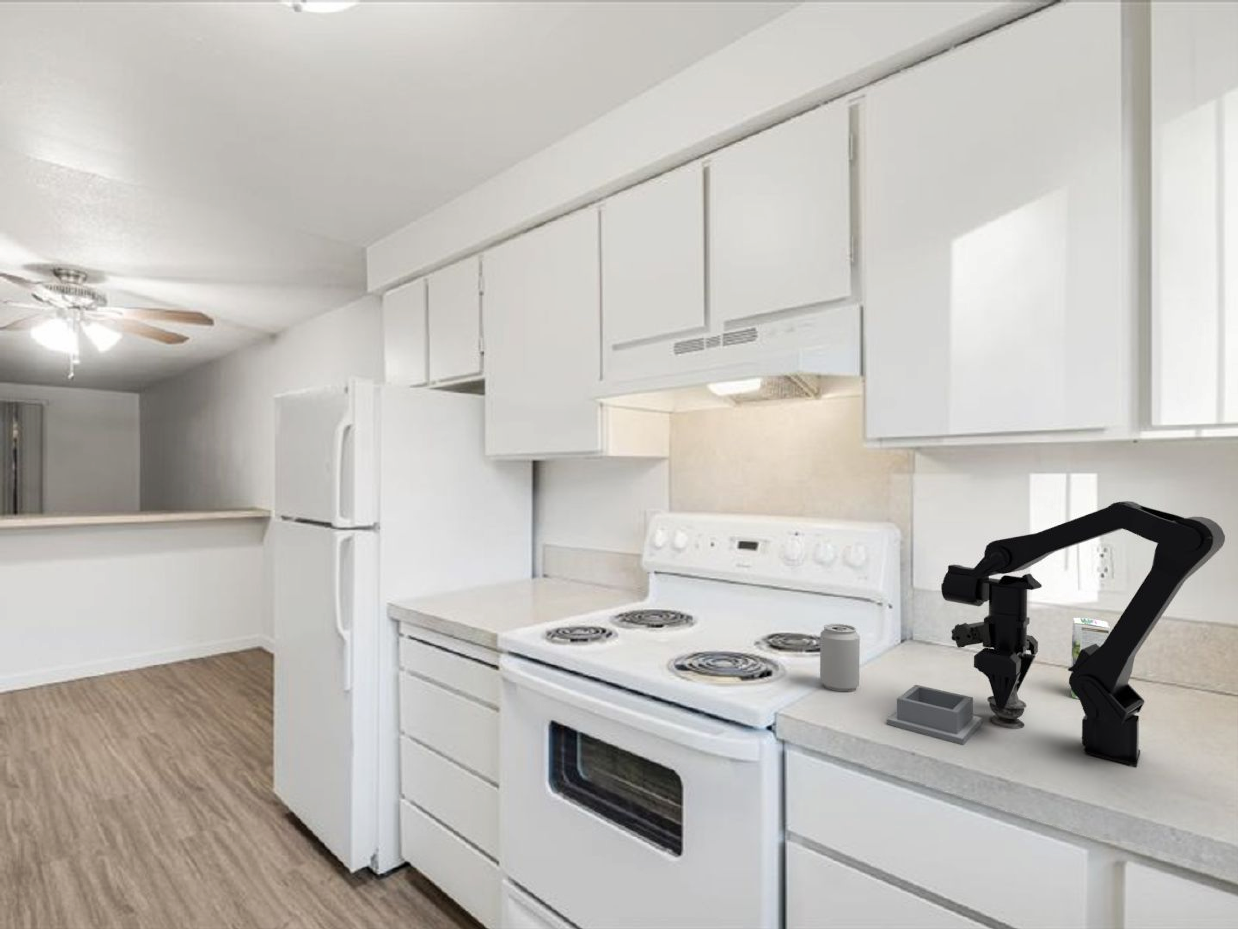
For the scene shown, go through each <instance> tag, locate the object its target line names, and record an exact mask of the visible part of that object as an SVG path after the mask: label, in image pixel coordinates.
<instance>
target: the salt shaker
mask: <svg viewBox="0 0 1238 929" xmlns="http://www.w3.org/2000/svg"><path fill="white" fill-rule="evenodd" d="M1017 683H1019V681H1018V680H1017V682H1016V685H1015V687H1014V689H1013V691H1012V693H1011V696H1010V698H1009V700H1008V702H1007V704H1006V707H1005V708H1004V709H999V708H997V706H996V703H995V699H994V696H993V695H990V696H988V697H987V702H988V703H989V708H990V710H991V712H993V713H994V715H991V716H990V717H989V718H988V721H989V722H990V723H992V724H993V725H996V726H999V727H1002V728H1007V729H1015V730H1016V729H1021V728H1022V729H1023V728H1024V727H1025V723H1024V722H1023V721H1021V720H1020V719H1019V718H1020V717H1022V716H1023V714H1024V712H1025V709H1026V708H1027V704H1026V702H1025V701H1023V700H1022V699H1021V700H1020V699H1019V695H1018V692H1017Z"/></svg>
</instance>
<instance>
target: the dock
mask: <svg viewBox="0 0 1238 929" xmlns="http://www.w3.org/2000/svg"><path fill="white" fill-rule="evenodd" d="M983 720H984V719H983V717H980V716H977V715H974V697H972V696H968V695H964V694H959V693H954V692H950V691H946V690H940V689H937V688H933V687H928V686H924V685H923V686H922V685H920V684H919V685H918V684H915V685H913V686H912V687H910V688H909V689H908V690H907V691H905V692H904V693H903V694H901V695H900V696H898V697H897V698H896V712H894V713H892V715H891V716H889V717H888V718H887V719H886V725H888V726H891V727H896V728H900V729H903V730H907V731H911V732H915V733H918V734H922V735H926V736H930V737H933V738H936V739H940V740H945V741H949V742H952V743H955V744H960V745H964V744H965V743H966V742H967V741H968V740H969V739H970V738H971V736H973V734H974V733H975V732H976V731H977V730H978V729H979V728H980V727H981V726H982V724H983V722H984V721H983Z"/></svg>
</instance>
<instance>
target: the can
mask: <svg viewBox="0 0 1238 929" xmlns="http://www.w3.org/2000/svg"><path fill="white" fill-rule="evenodd" d="M819 635H820V640H819V641H820V642H819V643H820V644H819V647H820V648H819V651H820V652H819V654H820V655H819V657H820V658H819V681H820V682H821V683H822V685H823V686H824V687H825V688H826V689H828V690H830V691H835V692H851V691H854V690H856V688H857V687H859V686H860V658H861V657H860V655H861V654H860V650H861V649H860V648H861V647H860V644H861V642H860V639H861V638H860V635H859V633H858V632H857V628H856V627H855V626H854V625H849V624H844V623H828V624H825V625H823V630H822V631H820V634H819Z"/></svg>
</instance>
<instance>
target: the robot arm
mask: <svg viewBox="0 0 1238 929" xmlns="http://www.w3.org/2000/svg"><path fill="white" fill-rule="evenodd" d="M1120 530H1125V531H1128V532H1130V533H1132V534H1134V535H1137V536H1139V537H1141V538H1143V539H1145V540H1148V541H1150V542H1153V543H1156V547H1155V550H1154V552H1153V553H1154V554H1153V560H1152V565H1151V568H1150V571H1149V572H1148V574H1147V575H1146V577H1145V578H1144V580H1143V582H1142V583H1141V584H1140V586H1139V588H1138V589H1137V591H1136V592H1135V593H1134V596H1133V597H1132V598H1131V599H1130V602H1129V603H1128V604H1127V606H1126V608H1125V609H1124V610H1123V613H1122V614H1121V616H1120V617H1119V619H1118V620H1117V621H1116V623H1115V624H1114V626H1113V628H1112V629H1111V630H1110V634H1109V636H1108V637H1107V639H1106V640H1105V642H1104V643H1103V644H1102V645H1101V646H1100V647H1099V646H1098V645H1097V644H1093V645H1091V646H1089V647H1086V648H1084V649H1082V650H1081V651H1080V653H1079V655H1078V658H1077V660H1076V663H1075V664H1074V665H1073V666H1072V667H1069V668H1068V669H1067V671H1068V672H1070V675H1069V678H1068V684H1069V686H1070V690H1071V689H1072V691H1073V692H1074V694H1075V695H1076V696H1077V697H1078V698H1079V699H1078V700H1079V701H1080V703H1081V708H1082V710H1083V713H1084V716H1083V717H1082V720H1081V745H1082V746H1083V747H1084V750H1083V753H1084V754H1086V755H1089V756H1094V757H1097V758H1100V759H1101V758H1102V759H1105V760H1110V761H1113V762H1118V763H1122V764H1126V765H1130V766H1134V767H1137V766H1138V763H1139V760H1140V756H1141V749H1140V747H1139V743H1140V740H1139V736H1140V735H1139V734H1140V732H1139V731H1140V730H1139V729H1140V715H1137V714H1138V713H1140V711H1141V710H1142V708H1143V706H1144V704H1145V699H1144V698H1142V696H1141V695H1139V693H1138V692H1137V691H1136V690H1135V689H1134V688H1133V686H1131V685H1130V683H1129V680H1130V678H1131V675H1132V672H1133V669H1134V668H1133V667H1134V662H1135V657H1136V655H1137V653H1138V652H1139V651H1140V649H1141V647H1142V646H1143V645H1144V643H1145V641H1146V640H1147V638H1148V637H1149V636H1150V634H1151V633H1152V631H1153V630H1154V628H1155V626H1156V625H1157V623H1158V622H1159V620H1161V618H1162V616H1163V614H1164V613H1165V611H1166V610H1167V609H1168V608H1169V605H1170V604H1171V603H1172V601H1173V599H1175V597H1176V595H1177V593H1178V592H1179V591H1180V590H1181V588H1182V586H1183V585H1184V583H1185V582H1186V581H1187V580H1188V579H1189V578H1190V577H1191V576H1193V575H1194V574H1195V573H1196V572H1197V571H1198V570H1199V569H1200V568H1202V567H1203V566H1204V565H1205V564H1206V563H1207V562H1208V561H1210V559H1212V558H1213V557H1214V555H1216V554H1217V553H1218V551H1220V550H1221V549H1222V548H1223V546H1224V544H1225V542H1226V535H1225V532H1224V531H1223V528H1222V527H1221V526H1220V525H1219V524H1218V523H1217V522H1215V521H1214V520H1212V519H1211V518H1207V517H1204V516H1190V517H1184V516H1181V515H1178V514H1175V513H1170V512H1167V511H1162V510H1159V509H1155V508H1152V507H1147V506H1143V505H1141V504H1139V503H1137V502H1134V501H1130V500H1129V501H1128V500H1124V501H1118V502H1117V501H1116V502H1113V503H1111V504H1109V505H1108V506H1107V507H1104V508H1101V509H1099V510H1095V511H1093V512H1090V513H1088V514H1085V515H1083V516H1080V517H1078V518H1075V519H1071V520H1068V521H1066V522H1063V523H1061V524H1058V525H1055V526H1051V527H1048V528H1046V529H1044V530H1041V531H1039V532H1036V533H1029V534H1025V535H1019V536H1014V537H1013V536H1012V537H1008V538H1003V539H995V540H993V541H991V542H989V543H988V544H987V545H986V546H985V550H984V552H983V554H984V555H983V557H982V558H981V560H980V561H979V562H978V563H977V564H976V565H975V567H968V566H967V567H966V566H963V565H961V564H954V563H953V564H949V565H948V566H947V572H946V574H945V575H944V577H943V580H942V583H941V588H940V591H941V596H942V598H943V599H944V600H945V601H947V602H952V603H957V604H962V605H969V606H974V607H981V606H983V605H984V603H987V602H988V615H987V616H985V617H984V618H983V621H980V622H979V621H978V622H973V623H966V622H964V623H961V624H960V623H958V624H957V623H956V625H954V628H953V629H951V631H950V632H951V637H950V638H951V641H955V644H956V647H957V648H959V649H961V648H965V647H966V646H971V645H979V644H982V648H983V649H981V650H980V651H978V652H977V653H976V654H975V655H973V668H975V669H976V670H977V671H979V672H980V673H982V674H984V676H986V677H987V679H988V682H989V685H990V689H991V691H992V696H994V699H995V703H996V706H997V708H999V709H1004V708H1005V707H1006V704H1007V702H1008V700H1009V698H1010V696H1011V693H1012V691H1013V689H1014V687H1015V685H1016V682H1017V680H1018V681H1019V683H1017V693H1018V692H1019V690H1020V688H1021V686H1022V683H1023V682H1024V679H1025V678H1026V676H1027V674H1028V672H1029V670H1030V668H1031V666H1032V664H1033V662H1034V661H1035V658H1036V654H1037V653H1038V652H1039V642H1038V640H1037V639H1036V638H1035V637H1034V636H1033V635H1029V634H1028V632H1027V631H1028V625H1029V624H1030V617H1029V616H1028V590H1029V591H1033V590H1036V589H1037V590H1038V589H1040V588H1042V587H1043V586H1042V584H1041V583H1040V581H1038V580H1037V579H1035V578H1034V575H1032V573H1025V574H1023V575H1022V576H1013V575H1008V574H1011V573H1017V572H1020V571H1025V570H1026V569H1028V568H1030V567H1032V566H1033V565H1035V564H1038V563H1039V562H1041V561H1042V560H1043V559H1046V558H1047V557H1048V556H1050V555H1052V554H1054V553H1055V552H1058V551H1061V550H1064V549H1068V548H1070V547H1074V546H1075V545H1078V544H1081V543H1085V542H1088V541H1090V540H1093V539H1096V538H1099V537H1102V536H1106V535H1108V534H1109V535H1110V534H1112V533H1115V532H1117V531H1120ZM999 574H1001V575H1003V576H1001V577H1000V578H994V577H993V578H991V576H995V575H999ZM1027 651H1030V653H1027ZM1071 671H1072V673H1071Z"/></svg>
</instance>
